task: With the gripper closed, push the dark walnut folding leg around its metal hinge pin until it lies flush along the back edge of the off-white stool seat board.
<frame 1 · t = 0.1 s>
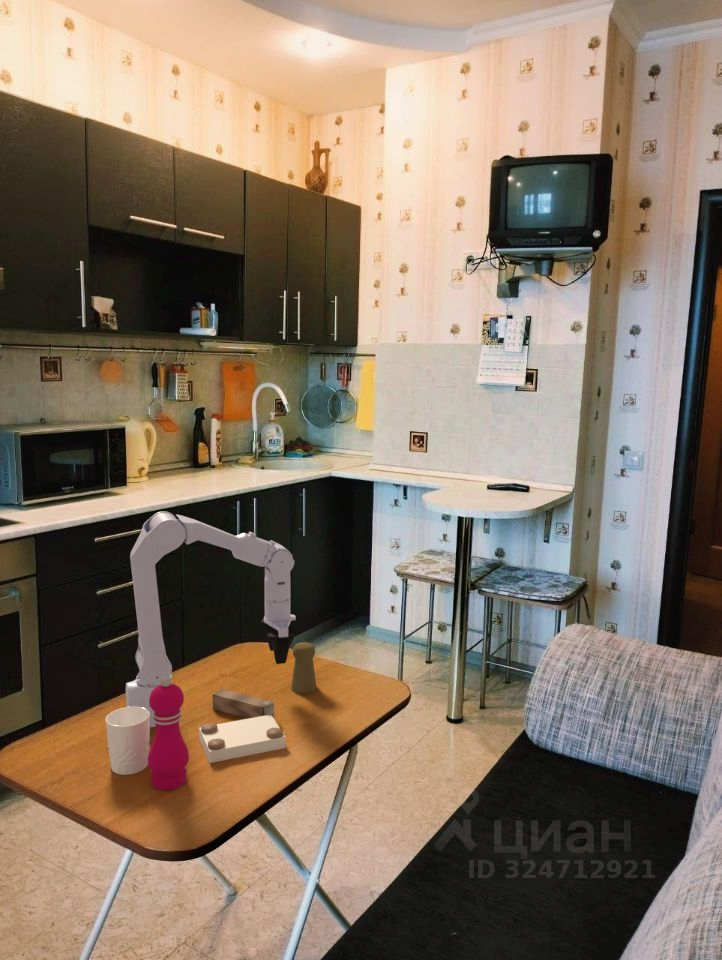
hand: (277, 656, 167), 10 cm above the table, tool pointing down, fingers open, 7 cm apart
folding leg: (244, 705, 160), point 2 cm above the table, hinge at -50.0°
stool seat: (241, 743, 149), on the table
cork: (303, 689, 173), on the table
pepper mill: (169, 782, 135), on the table
white cup: (129, 766, 140), on the table
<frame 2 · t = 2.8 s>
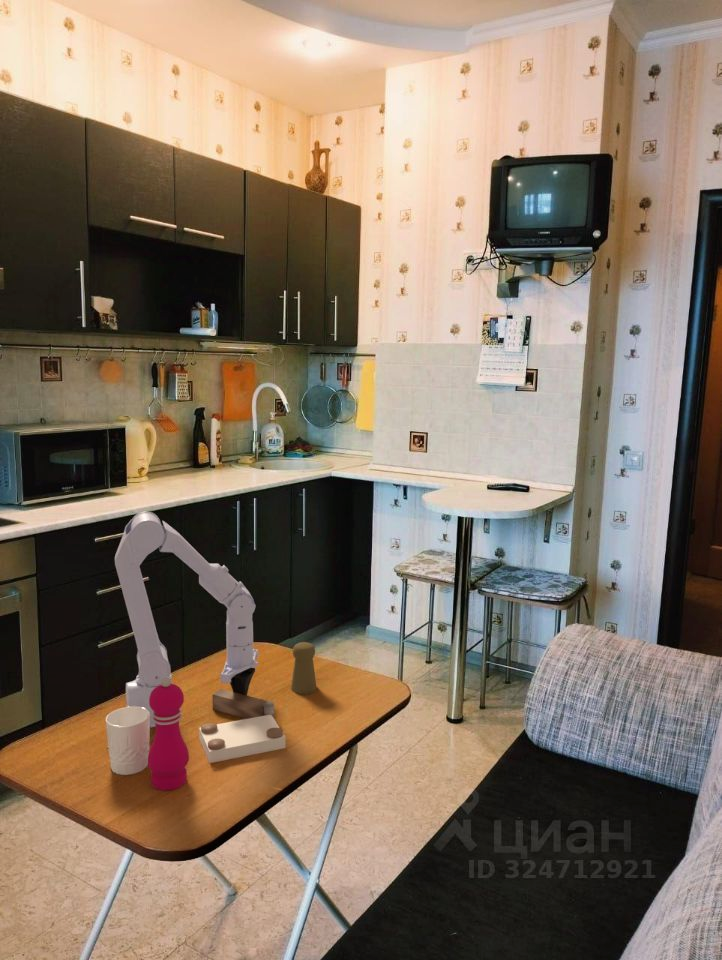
hand: (240, 700, 164), 1 cm above the table, tool pointing down, fingers closed
folding leg: (244, 705, 160), point 2 cm above the table, hinge at -49.6°, touching gripper
everything else where it was.
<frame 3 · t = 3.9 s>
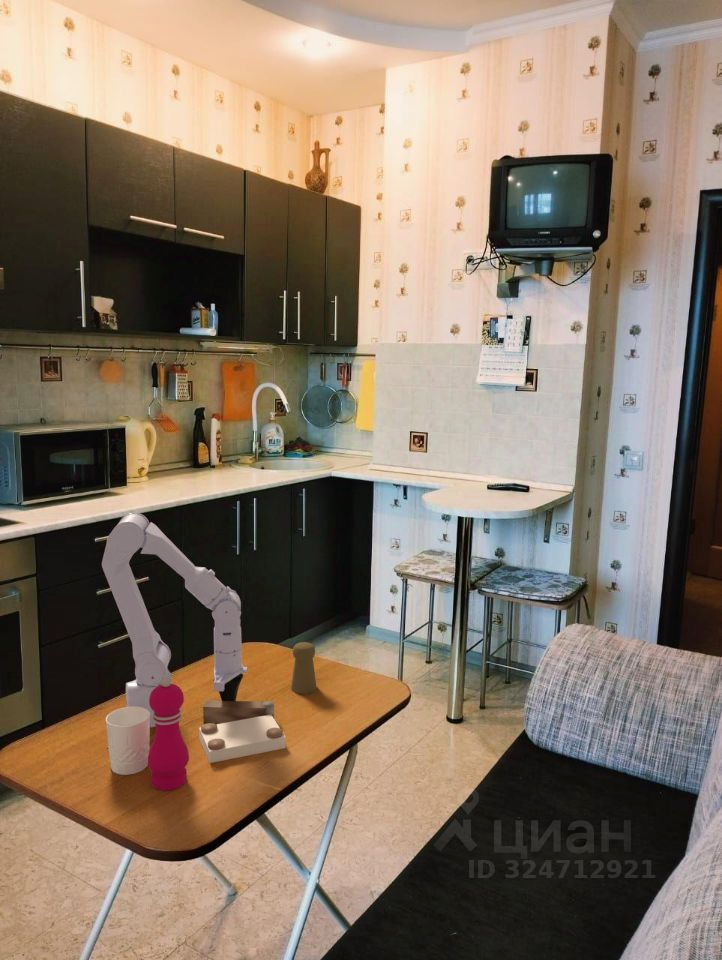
hand: (229, 708, 160), 1 cm above the table, tool pointing down, fingers closed
folding leg: (239, 711, 158), point 2 cm above the table, hinge at -24.1°, touching gripper
everything else where it was.
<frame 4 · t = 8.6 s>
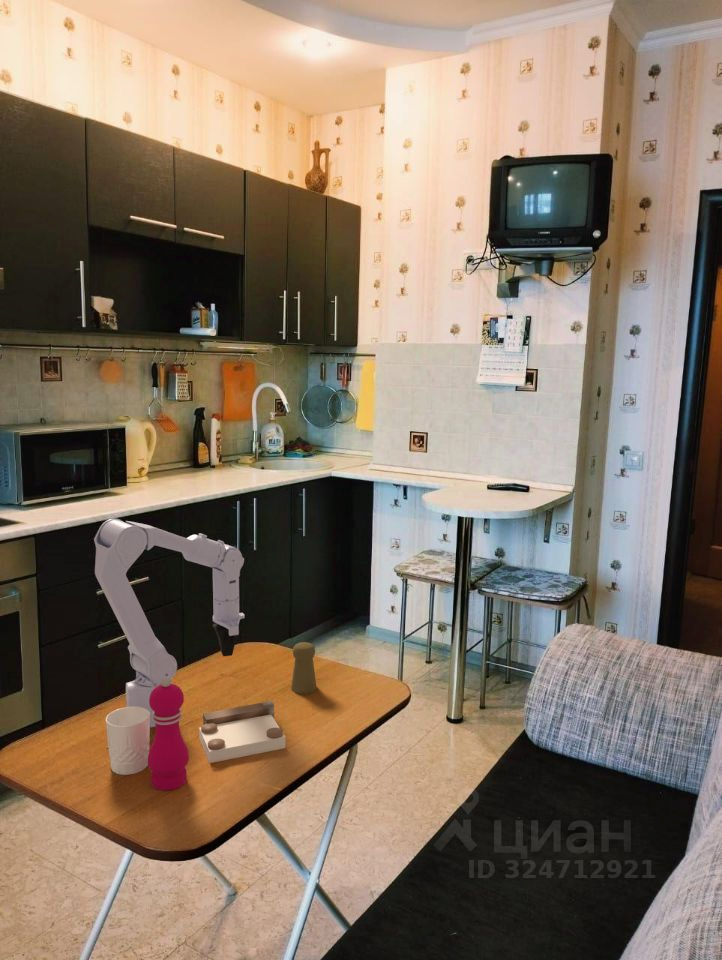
hand: (227, 654, 169), 9 cm above the table, tool pointing down, fingers closed
folding leg: (240, 717, 155), point 2 cm above the table, hinge at 0.9°
everything else where it was.
at the end: folding leg at +1° (first picture: -50°) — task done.
